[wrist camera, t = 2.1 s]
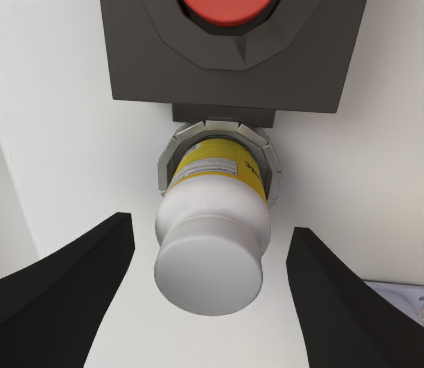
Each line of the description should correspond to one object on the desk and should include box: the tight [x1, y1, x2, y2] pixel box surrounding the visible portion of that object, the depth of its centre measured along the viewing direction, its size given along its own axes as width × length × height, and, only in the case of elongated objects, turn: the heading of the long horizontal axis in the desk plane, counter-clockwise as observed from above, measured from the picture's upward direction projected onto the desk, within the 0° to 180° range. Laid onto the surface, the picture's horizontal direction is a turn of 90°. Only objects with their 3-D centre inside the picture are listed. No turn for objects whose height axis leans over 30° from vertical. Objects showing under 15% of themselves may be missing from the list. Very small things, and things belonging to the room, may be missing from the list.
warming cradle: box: [158, 103, 282, 209], centre depth 17 cm, size 9×8×2 cm
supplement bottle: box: [154, 135, 271, 316], centre depth 14 cm, size 5×5×10 cm
